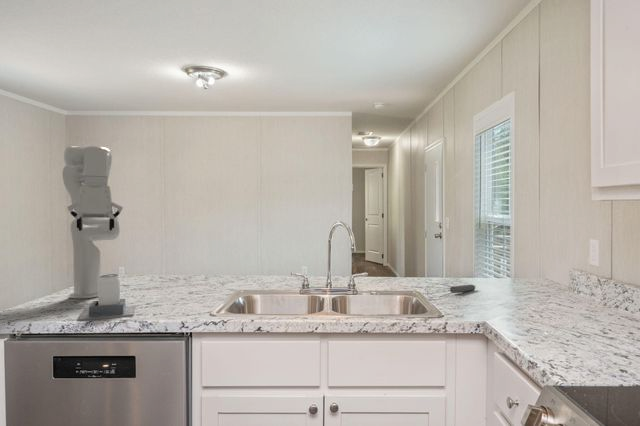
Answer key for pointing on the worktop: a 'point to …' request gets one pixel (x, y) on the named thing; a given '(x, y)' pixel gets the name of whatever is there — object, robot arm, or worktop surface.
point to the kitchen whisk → (454, 289)
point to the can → (108, 289)
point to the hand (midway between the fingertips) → (95, 230)
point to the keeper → (106, 311)
